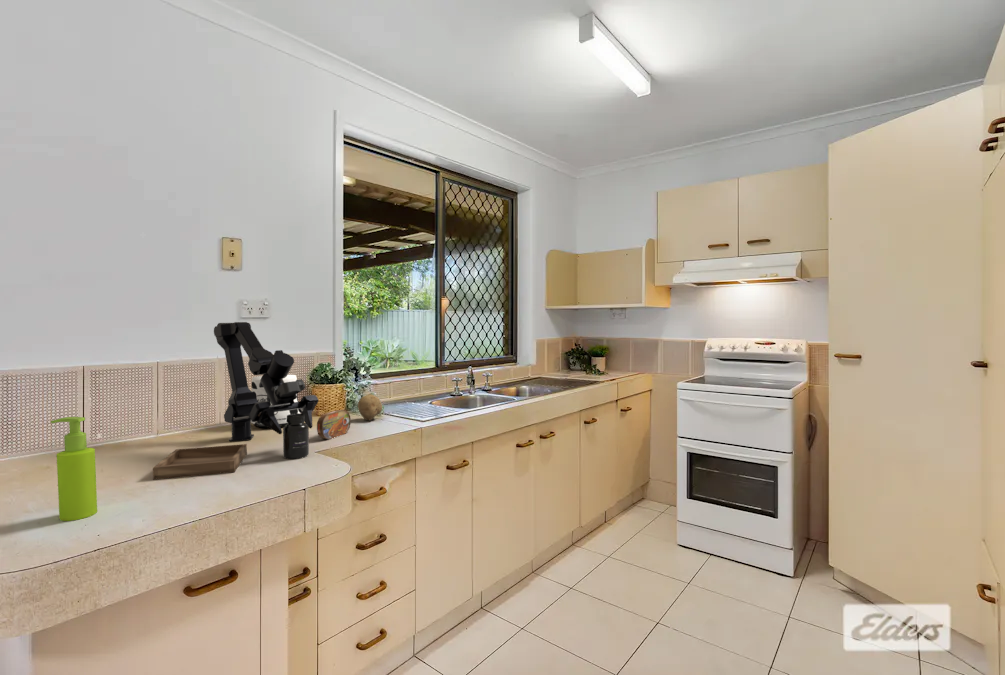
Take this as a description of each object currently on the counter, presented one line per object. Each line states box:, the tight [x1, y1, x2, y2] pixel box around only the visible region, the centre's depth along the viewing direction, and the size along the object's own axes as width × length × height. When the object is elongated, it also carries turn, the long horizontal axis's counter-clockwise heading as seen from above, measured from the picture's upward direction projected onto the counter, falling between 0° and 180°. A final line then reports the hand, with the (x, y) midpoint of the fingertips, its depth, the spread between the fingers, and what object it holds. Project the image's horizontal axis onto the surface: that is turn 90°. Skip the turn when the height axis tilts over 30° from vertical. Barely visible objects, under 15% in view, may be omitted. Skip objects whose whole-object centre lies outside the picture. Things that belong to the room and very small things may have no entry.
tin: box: [316, 409, 352, 440], centre depth 168 cm, size 15×3×8 cm, turn 161°
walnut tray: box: [152, 443, 248, 481], centre depth 135 cm, size 18×18×3 cm
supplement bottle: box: [282, 413, 310, 460], centre depth 144 cm, size 7×7×12 cm
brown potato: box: [357, 393, 383, 421], centre depth 194 cm, size 9×9×10 cm
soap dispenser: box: [49, 416, 98, 522], centre depth 101 cm, size 6×7×20 cm
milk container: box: [251, 374, 301, 428], centre depth 186 cm, size 17×17×18 cm
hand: (296, 430), depth 143 cm, fingers open, 9 cm apart
